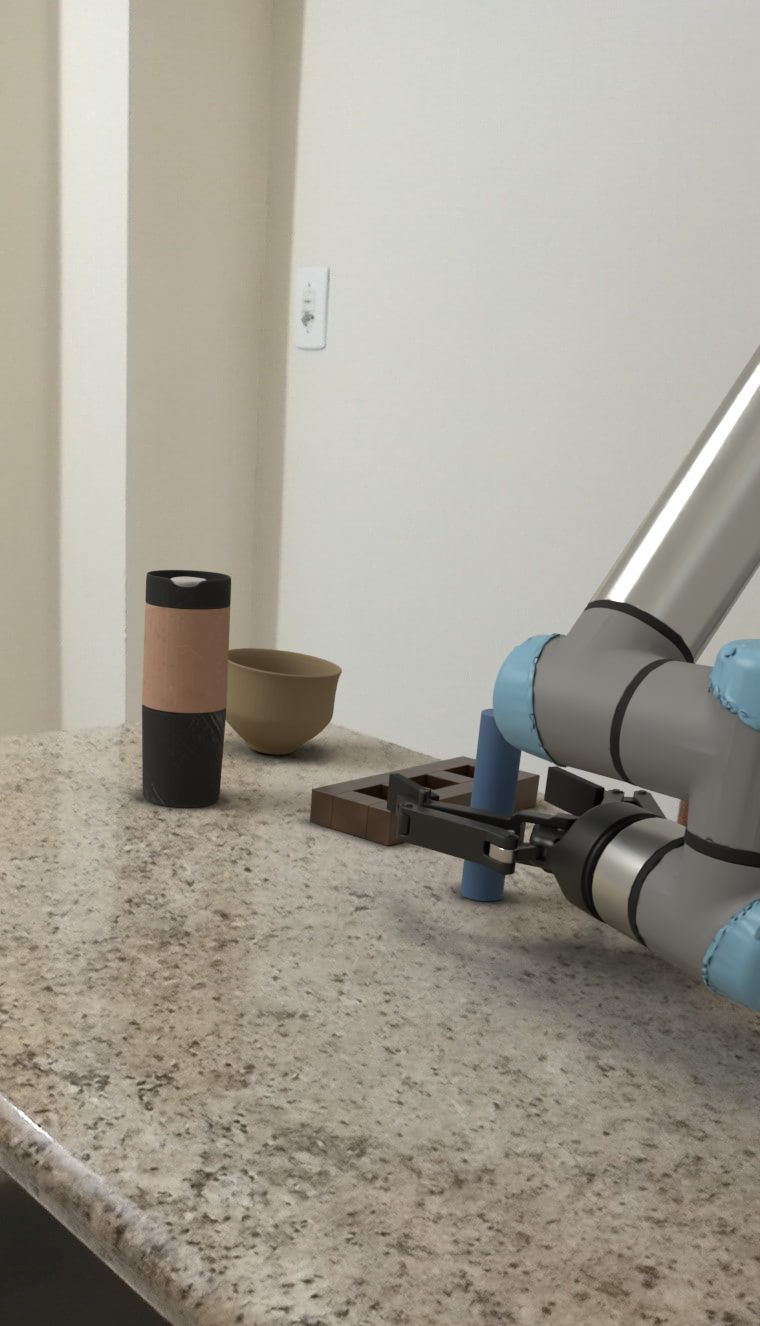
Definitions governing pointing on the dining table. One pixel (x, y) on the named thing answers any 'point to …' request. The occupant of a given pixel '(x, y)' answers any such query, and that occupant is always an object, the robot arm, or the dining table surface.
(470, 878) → the peg
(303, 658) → the bowl
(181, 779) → the travel mug
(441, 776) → the rack
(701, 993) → the dining table surface
